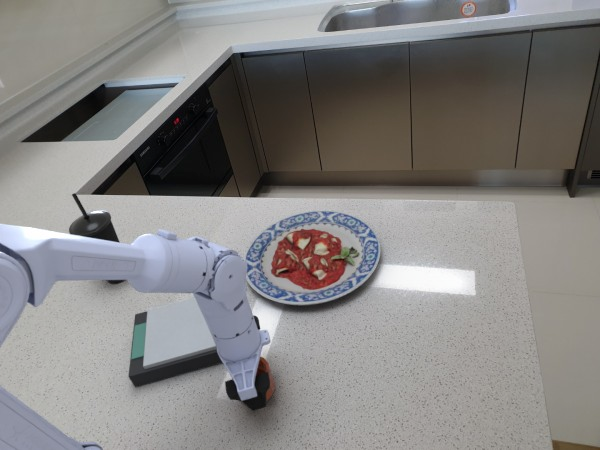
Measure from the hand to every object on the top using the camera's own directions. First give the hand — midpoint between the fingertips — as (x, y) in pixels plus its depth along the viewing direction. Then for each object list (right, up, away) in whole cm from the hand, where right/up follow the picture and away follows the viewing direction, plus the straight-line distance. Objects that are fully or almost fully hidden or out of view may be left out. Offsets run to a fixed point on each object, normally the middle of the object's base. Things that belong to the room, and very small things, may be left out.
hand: (255, 382), depth 66 cm
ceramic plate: (+9, +16, +21) cm, 28 cm away
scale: (-12, +4, +11) cm, 16 cm away
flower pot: (0, -1, +1) cm, 2 cm away
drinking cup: (-30, +12, +27) cm, 42 cm away
